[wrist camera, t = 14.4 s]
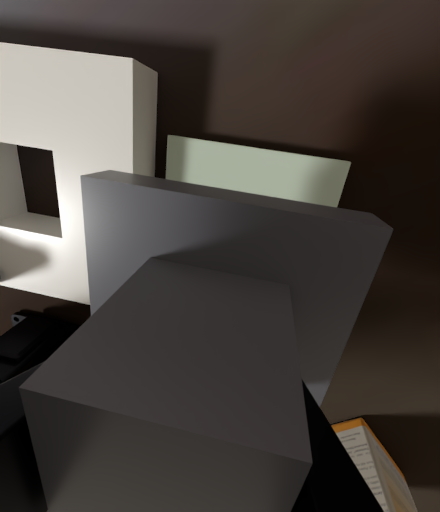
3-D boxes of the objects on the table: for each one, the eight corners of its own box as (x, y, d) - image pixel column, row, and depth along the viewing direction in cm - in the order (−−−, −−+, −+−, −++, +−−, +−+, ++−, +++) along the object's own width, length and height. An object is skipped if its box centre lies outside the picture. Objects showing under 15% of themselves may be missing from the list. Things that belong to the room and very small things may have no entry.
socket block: (151, 291, 21) (133, 314, 18) (-15, 256, 22) (-55, 272, 19) (157, 72, 15) (132, 58, 12) (-67, 44, 16) (-134, 26, 14)
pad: (301, 310, 19) (302, 317, 18) (164, 282, 20) (160, 287, 19) (347, 161, 15) (351, 162, 14) (172, 135, 16) (167, 135, 15)
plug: (295, 356, 14) (332, 661, 6) (141, 322, 14) (-16, 548, 6) (348, 195, 10) (610, 387, 2) (145, 163, 11) (-168, 223, 3)
